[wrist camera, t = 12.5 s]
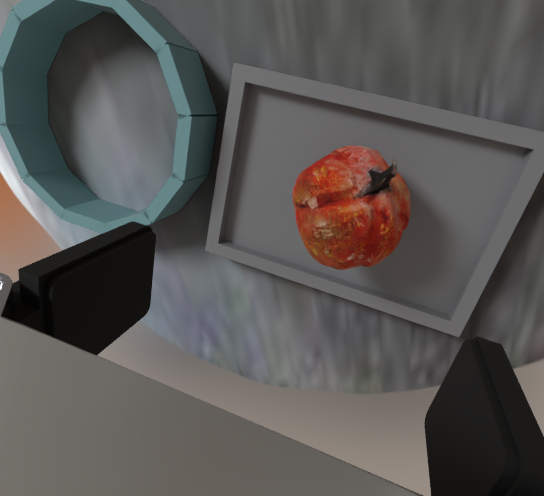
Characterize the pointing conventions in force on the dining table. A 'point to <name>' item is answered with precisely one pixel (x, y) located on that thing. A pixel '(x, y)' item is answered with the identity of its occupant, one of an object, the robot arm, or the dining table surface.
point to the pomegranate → (351, 208)
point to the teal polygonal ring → (34, 108)
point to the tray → (409, 160)
